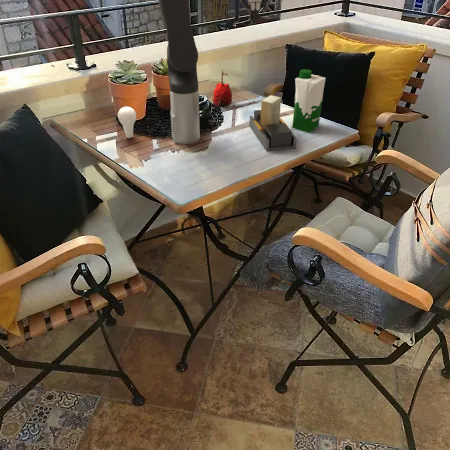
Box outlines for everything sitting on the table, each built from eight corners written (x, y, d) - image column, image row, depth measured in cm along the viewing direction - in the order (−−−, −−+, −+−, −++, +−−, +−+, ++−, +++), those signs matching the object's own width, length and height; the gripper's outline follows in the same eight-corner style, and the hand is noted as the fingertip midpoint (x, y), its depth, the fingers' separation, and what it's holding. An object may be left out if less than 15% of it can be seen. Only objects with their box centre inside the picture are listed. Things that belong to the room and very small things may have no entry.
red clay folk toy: (232, 102, 191) (233, 65, 183) (230, 109, 186) (231, 70, 177) (214, 102, 192) (213, 64, 184) (211, 108, 186) (211, 70, 178)
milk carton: (300, 120, 176) (306, 66, 165) (322, 126, 172) (329, 71, 160) (288, 128, 171) (293, 72, 159) (310, 134, 166) (317, 77, 155)
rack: (266, 151, 155) (267, 134, 152) (249, 126, 172) (249, 110, 168) (295, 148, 157) (297, 131, 154) (275, 124, 174) (276, 108, 170)
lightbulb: (142, 136, 165) (138, 105, 158) (132, 142, 160) (128, 111, 154) (127, 133, 167) (123, 102, 160) (117, 139, 162) (113, 108, 156)
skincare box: (268, 128, 168) (270, 94, 161) (279, 131, 166) (281, 97, 159) (259, 134, 164) (260, 99, 157) (269, 137, 162) (272, 102, 155)
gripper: (237, -37, 140) (236, 25, 150) (280, -38, 142) (276, 23, 152) (231, -40, 146) (231, 20, 156) (272, -41, 148) (269, 18, 158)
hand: (253, 22), depth 154 cm, fingers closed
